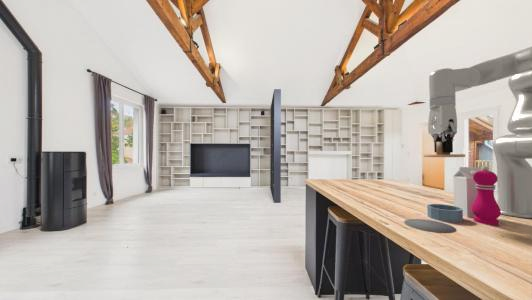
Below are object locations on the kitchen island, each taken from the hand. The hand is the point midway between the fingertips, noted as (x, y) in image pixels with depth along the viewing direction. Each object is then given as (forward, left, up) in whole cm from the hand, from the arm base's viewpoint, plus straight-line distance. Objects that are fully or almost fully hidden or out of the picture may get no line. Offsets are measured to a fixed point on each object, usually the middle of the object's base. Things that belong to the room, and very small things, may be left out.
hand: (443, 151), depth 81 cm
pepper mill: (-11, +3, -25) cm, 28 cm away
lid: (0, 0, -2) cm, 2 cm away
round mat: (+10, +10, -25) cm, 29 cm away
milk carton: (-12, -6, -25) cm, 29 cm away
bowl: (0, 0, -25) cm, 25 cm away
